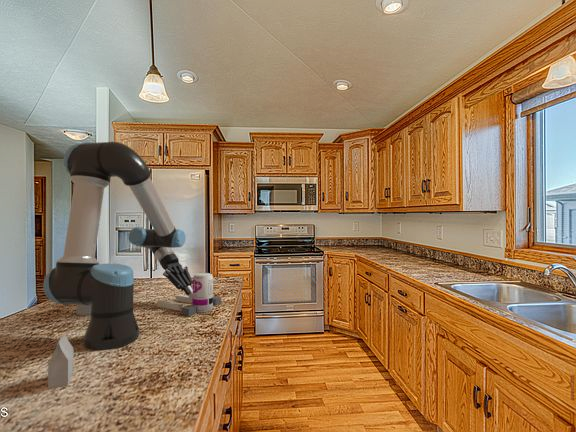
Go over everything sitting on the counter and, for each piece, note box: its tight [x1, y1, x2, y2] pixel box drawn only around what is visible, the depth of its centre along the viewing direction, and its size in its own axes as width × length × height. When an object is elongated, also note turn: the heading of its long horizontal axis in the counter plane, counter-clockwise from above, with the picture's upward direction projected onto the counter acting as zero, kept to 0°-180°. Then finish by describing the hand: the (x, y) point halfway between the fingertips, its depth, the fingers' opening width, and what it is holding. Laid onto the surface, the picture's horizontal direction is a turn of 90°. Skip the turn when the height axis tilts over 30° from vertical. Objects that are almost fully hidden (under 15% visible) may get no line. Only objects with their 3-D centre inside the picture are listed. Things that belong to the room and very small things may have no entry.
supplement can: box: [191, 272, 214, 314], centre depth 128 cm, size 8×8×15 cm
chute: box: [156, 294, 222, 317], centre depth 134 cm, size 20×22×3 cm
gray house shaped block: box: [47, 333, 75, 391], centre depth 73 cm, size 4×7×10 cm, turn 26°
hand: (195, 299), depth 132 cm, fingers closed
